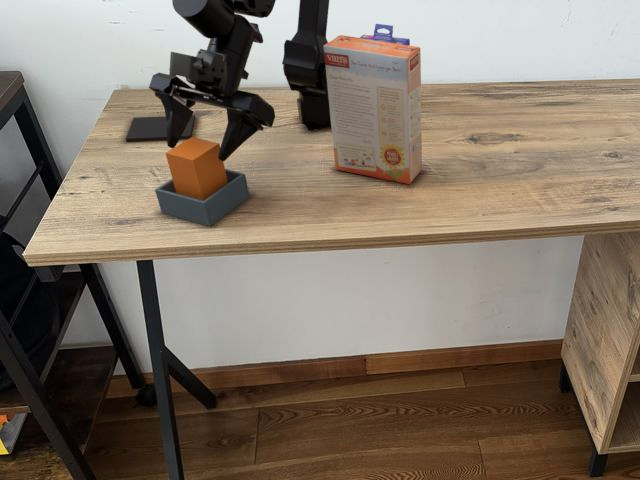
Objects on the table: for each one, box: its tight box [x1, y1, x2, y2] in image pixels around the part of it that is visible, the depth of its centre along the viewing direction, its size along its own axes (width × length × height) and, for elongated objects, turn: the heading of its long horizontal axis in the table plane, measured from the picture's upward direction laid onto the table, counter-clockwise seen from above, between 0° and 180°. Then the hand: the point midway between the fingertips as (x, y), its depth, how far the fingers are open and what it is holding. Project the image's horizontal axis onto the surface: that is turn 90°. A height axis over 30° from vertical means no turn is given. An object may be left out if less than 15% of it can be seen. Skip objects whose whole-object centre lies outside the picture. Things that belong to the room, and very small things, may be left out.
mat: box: [125, 114, 196, 143], centre depth 126 cm, size 11×9×1 cm
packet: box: [165, 136, 228, 201], centre depth 104 cm, size 6×5×9 cm
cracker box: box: [324, 34, 423, 185], centre depth 111 cm, size 14×6×21 cm, turn 71°
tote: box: [154, 168, 250, 227], centre depth 106 cm, size 10×9×4 cm
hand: (195, 153), depth 102 cm, fingers open, 9 cm apart
